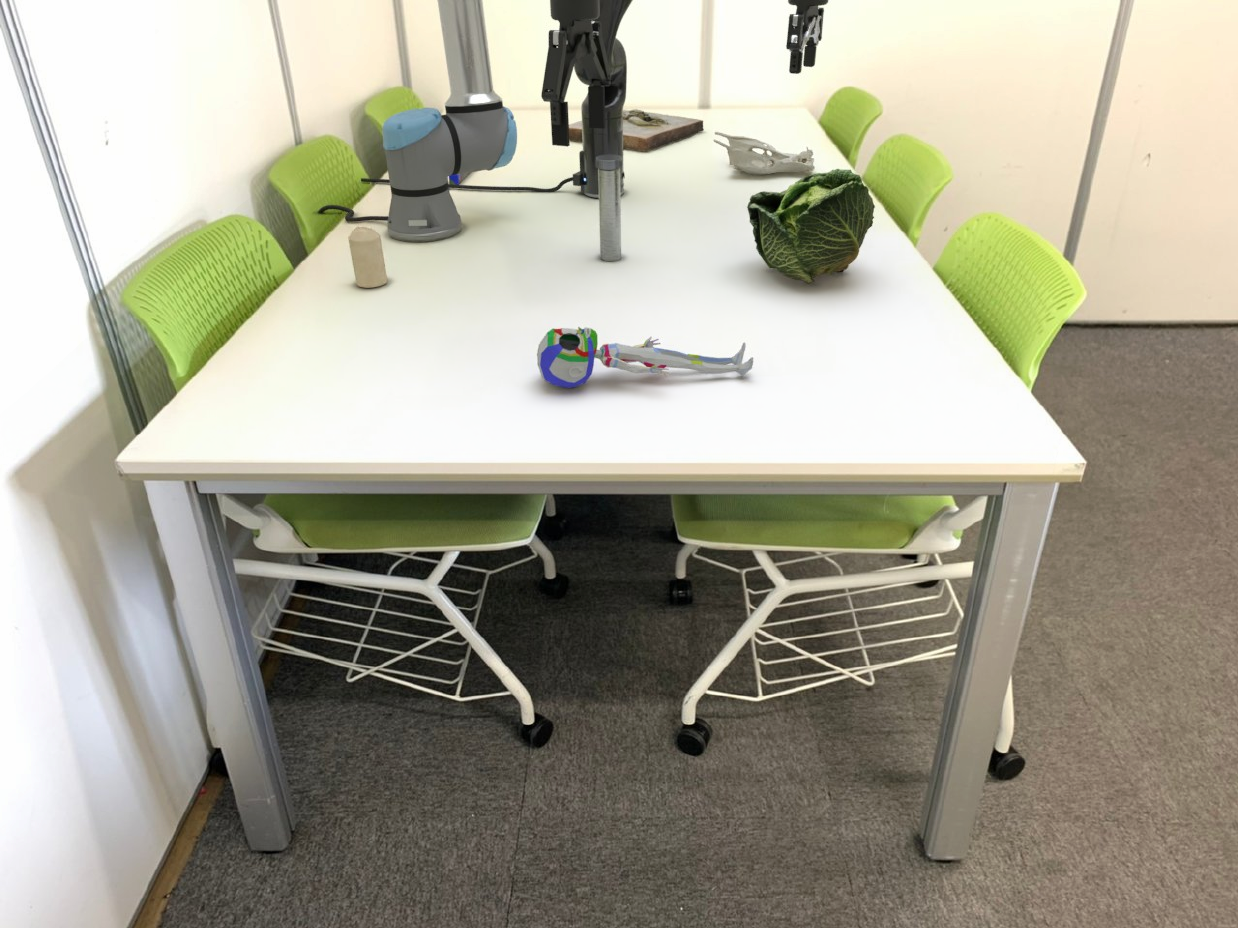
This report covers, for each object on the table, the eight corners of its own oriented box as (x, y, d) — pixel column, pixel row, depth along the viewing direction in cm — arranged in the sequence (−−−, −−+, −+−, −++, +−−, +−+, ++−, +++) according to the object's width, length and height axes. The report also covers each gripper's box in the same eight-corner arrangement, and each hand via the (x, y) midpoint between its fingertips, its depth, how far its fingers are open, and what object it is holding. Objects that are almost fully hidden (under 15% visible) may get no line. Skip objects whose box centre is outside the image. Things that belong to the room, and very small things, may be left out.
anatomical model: (715, 128, 226) (815, 127, 222) (715, 165, 231) (813, 164, 227) (711, 142, 214) (818, 141, 210) (711, 181, 219) (815, 181, 215)
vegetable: (773, 300, 170) (724, 207, 162) (854, 244, 171) (810, 148, 164) (823, 314, 152) (771, 210, 144) (914, 251, 153) (867, 144, 145)
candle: (393, 278, 163) (384, 224, 158) (377, 289, 159) (367, 234, 154) (367, 275, 165) (358, 222, 160) (350, 286, 160) (340, 231, 155)
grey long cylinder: (623, 260, 170) (622, 161, 161) (602, 262, 170) (600, 163, 160) (618, 253, 174) (617, 156, 164) (598, 255, 173) (596, 158, 163)
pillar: (478, 155, 232) (456, 175, 216) (478, 164, 234) (457, 184, 217) (469, 155, 233) (448, 175, 216) (470, 164, 234) (449, 184, 217)
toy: (760, 356, 123) (541, 338, 118) (747, 410, 127) (536, 395, 123) (743, 326, 131) (539, 309, 127) (732, 378, 136) (534, 363, 131)
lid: (624, 169, 161) (624, 159, 160) (598, 171, 160) (598, 161, 159) (619, 162, 165) (619, 153, 164) (593, 164, 164) (593, 155, 163)
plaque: (647, 125, 237) (559, 112, 252) (647, 153, 241) (560, 139, 256) (706, 107, 258) (622, 97, 273) (705, 133, 262) (622, 121, 277)
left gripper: (558, -2, 125) (565, 155, 136) (629, -16, 144) (630, 122, 155) (511, -3, 127) (522, 151, 139) (587, -17, 147) (591, 119, 158)
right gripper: (802, -27, 174) (795, 63, 182) (778, -22, 163) (771, 74, 172) (840, -26, 171) (831, 66, 179) (818, -21, 160) (809, 77, 169)
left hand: (579, 136), depth 147 cm, fingers open, 13 cm apart
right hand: (802, 70), depth 176 cm, fingers open, 8 cm apart
